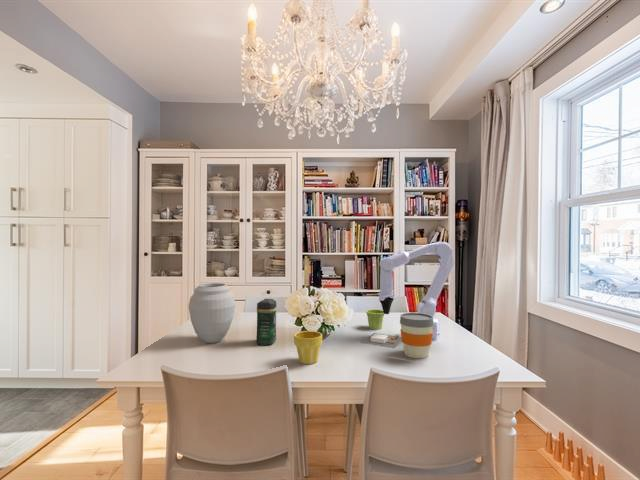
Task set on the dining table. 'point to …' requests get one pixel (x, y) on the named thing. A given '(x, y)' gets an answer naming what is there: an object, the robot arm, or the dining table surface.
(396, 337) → the wooden plank
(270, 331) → the coffee jar
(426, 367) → the dining table surface
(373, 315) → the plant pot
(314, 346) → the plant pot
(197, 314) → the vase
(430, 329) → the reusable coffee cup
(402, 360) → the dining table surface
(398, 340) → the mat
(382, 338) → the tile
